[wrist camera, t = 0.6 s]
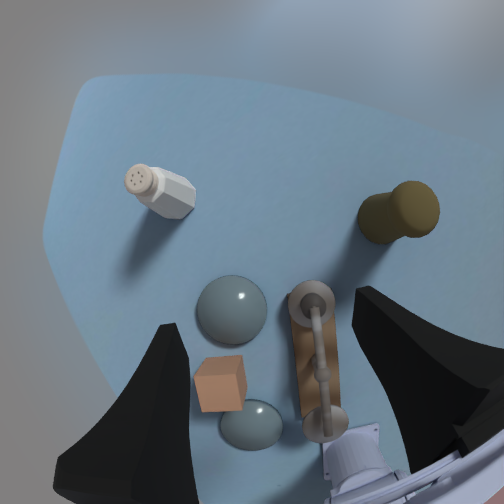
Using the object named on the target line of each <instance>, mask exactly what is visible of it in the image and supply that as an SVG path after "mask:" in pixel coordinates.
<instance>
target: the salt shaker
mask: <svg viewBox="0 0 504 504" xmlns="http://www.w3.org/2000/svg"><path fill="white" fill-rule="evenodd" d="M124 183H125V187H126V189H127V191H128V192H130V193H131V194H134V195H135V196H136V197H137V199H138V200H139V201H140V202H141V203H142V204H143V205H145V206H147V207H148V208H150V209H151V210H153V211H155V212H156V213H158V214H159V215H161V216H163V217H164V218H168V219H182V218H184V217H185V216H186V215H187V214H188V213H189V212H190V211H191V210H192V209H194V208H195V198H196V190H195V188H194V187H193V186H192V185H191V184H190V182H189V181H188V180H187V179H186V178H184V177H182V176H179V175H177V174H174V173H172V172H169V171H167V170H164V169H162V168H158V167H148V166H146V165H144V164H137V165H134V166H133V167H131V168H130V169H129V170H128V172H127V173H126V176H125V180H124Z"/></svg>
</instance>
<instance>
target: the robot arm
mask: <svg viewBox="0 0 504 504" xmlns="http://www.w3.org/2000/svg"><path fill="white" fill-rule="evenodd" d="M352 328H353V330H354V333H355V335H356V338H357V340H358V342H359V345H360V347H361V349H362V350H363V352H364V354H365V356H366V357H367V359H368V361H369V363H370V364H371V366H372V368H373V370H374V371H375V373H376V375H377V377H378V378H379V380H380V382H381V384H382V386H383V388H384V390H385V392H386V394H387V396H388V399H389V401H390V404H391V406H392V409H393V411H394V414H395V417H396V420H397V423H398V426H399V429H400V432H401V435H402V439H403V442H404V445H405V449H406V454H407V458H408V462H409V467H410V472H411V474H412V475H410V476H407V475H406V473H405V472H404V471H400V470H396V471H394V474H393V472H392V470H391V468H390V466H389V467H388V466H387V464H386V462H385V460H384V458H383V456H382V454H381V452H380V450H379V448H378V440H379V424H378V423H375V424H371V425H367V426H362V427H358V428H353V429H348V430H346V431H345V433H344V434H343V435H342V436H341V437H339V438H338V439H336V440H334V441H332V442H328V443H322V445H323V467H324V480H331V482H332V487H333V490H330V493H331V497H332V498H327V499H325V501H324V503H323V504H483V503H484V502H485V501H487V500H488V499H489V498H491V497H492V496H493V495H494V494H495V493H496V492H497V491H499V490H500V489H501V488H502V487H503V486H504V349H502V348H496V347H492V346H488V345H484V344H480V343H477V342H474V341H471V340H468V339H465V338H462V337H460V336H457V335H455V334H452V333H450V332H448V331H445V330H443V329H441V328H439V327H437V326H435V325H433V324H431V323H429V322H427V321H426V320H424V319H422V318H420V317H418V316H417V315H415V314H413V313H412V312H410V311H408V310H407V309H405V308H404V307H402V306H401V305H399V304H397V303H396V302H394V301H393V300H391V299H390V298H388V297H387V296H385V295H384V294H382V293H381V292H379V291H377V290H376V289H374V288H373V287H371V286H365V287H361V288H357V289H356V294H355V302H354V311H353V319H352ZM189 408H190V368H189V357H188V355H187V352H186V350H185V347H184V344H183V342H182V339H181V337H180V334H179V331H178V328H177V326H176V323H171V324H163V325H160V326H159V328H158V330H157V332H156V334H155V336H154V338H153V340H152V342H151V344H150V346H149V347H148V349H147V351H146V353H145V355H144V357H143V359H142V360H141V362H140V364H139V366H138V368H137V369H136V371H135V373H134V374H133V376H132V377H131V379H130V381H129V382H128V384H127V386H126V387H125V388H124V390H123V391H122V393H121V394H120V396H119V397H118V398H117V400H116V401H115V403H114V404H113V405H112V406H111V408H110V409H109V410H108V411H107V413H106V414H105V415H104V416H103V417H102V418H101V419H100V420H99V422H98V423H97V424H96V425H95V426H94V427H93V428H92V429H91V430H90V431H89V432H88V433H87V434H86V435H85V436H83V437H82V438H81V439H80V440H79V441H78V442H77V443H75V444H74V445H73V446H72V447H70V448H69V449H68V450H67V451H65V452H64V453H63V454H62V455H60V456H59V457H58V459H57V464H56V469H55V476H54V482H53V489H54V491H55V492H56V493H57V494H59V495H61V496H63V497H64V498H66V499H68V500H70V501H72V502H74V503H76V504H199V500H198V495H197V490H196V484H195V479H194V472H193V465H192V458H191V449H190V439H189ZM375 429H376V430H375ZM326 473H328V474H326ZM432 482H433V483H432ZM431 483H432V484H431ZM429 484H431V487H429V488H427V489H425V490H424V491H422V492H420V493H418V494H415V491H417V490H419V489H421V488H423V487H425V486H427V485H429Z"/></svg>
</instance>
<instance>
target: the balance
mask: <svg viewBox="0 0 504 504" xmlns="http://www.w3.org/2000/svg"><path fill="white" fill-rule="evenodd" d="M287 297H288V309H289V313H290V320H291V328H292V337H293V345H294V353H295V362H296V371H297V380H298V389H299V398H300V408H301V417H305V418H304V420H303V423H302V428H303V433H304V435H305V436H306V438H308V439H309V440H310V441H313V442H316V443H328V442H332V441H334V440H336V439H338V438H339V437H341V436H342V435H343V434H344V433H345V431H346V430H347V428H348V424H349V419H348V416H347V414H346V412H345V411H344V410H343V409H342V408H341V403H340V382H339V365H338V351H337V339H336V327H335V317H334V310H335V297H334V294H333V292H332V289H331V288H330V287H328V286H327V285H325V284H324V283H322V282H320V281H316V280H308V281H305V282H302V283H300V284H299V285H297V286H296V287H295V288H294V289H293V290H292V292H291V293H289V294H287Z"/></svg>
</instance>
